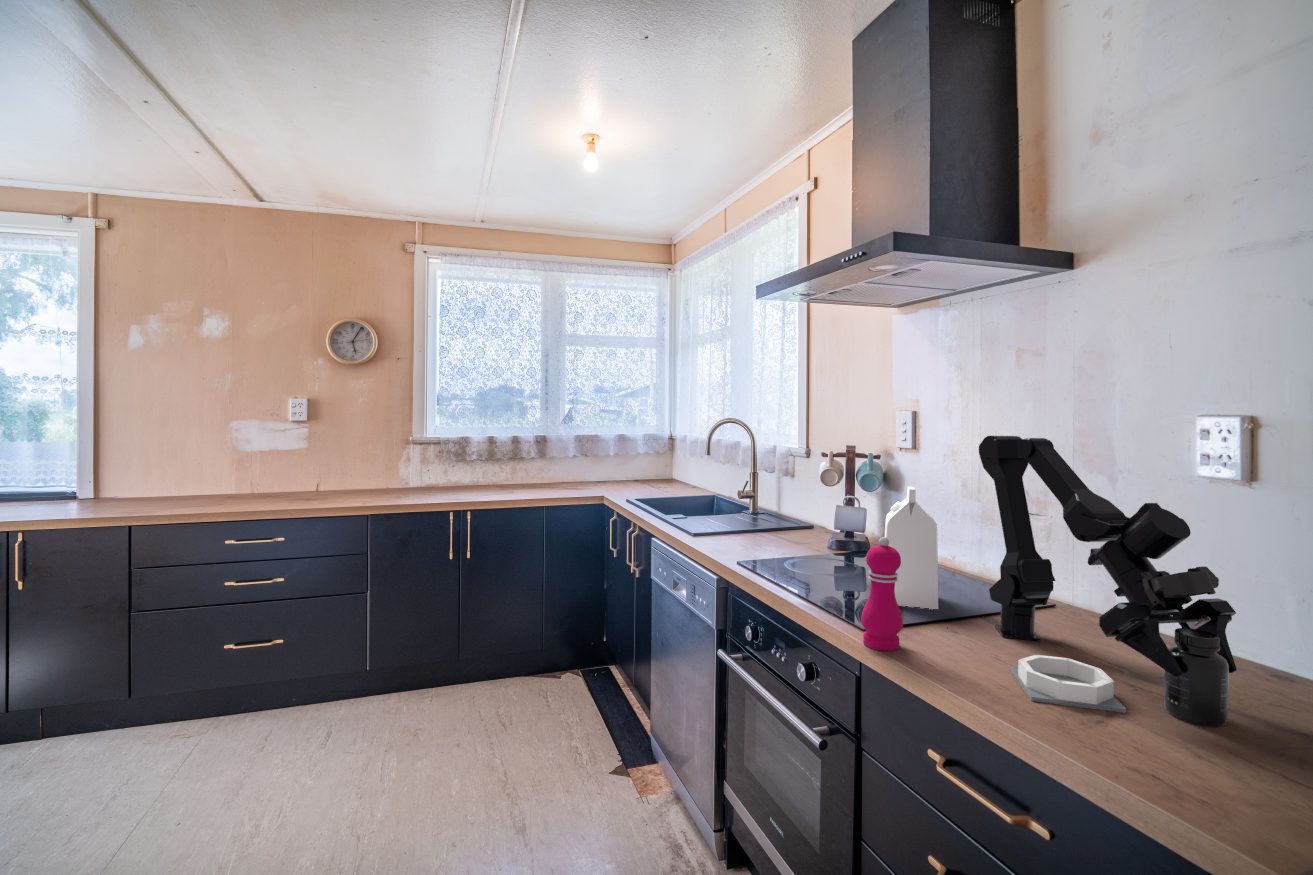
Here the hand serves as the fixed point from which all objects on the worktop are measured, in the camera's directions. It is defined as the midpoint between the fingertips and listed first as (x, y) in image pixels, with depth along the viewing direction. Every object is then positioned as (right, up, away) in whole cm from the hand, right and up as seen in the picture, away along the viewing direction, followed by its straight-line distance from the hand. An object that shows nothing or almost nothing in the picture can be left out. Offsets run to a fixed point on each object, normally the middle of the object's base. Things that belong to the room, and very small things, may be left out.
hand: (1206, 673), depth 86 cm
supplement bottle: (0, -7, +2) cm, 7 cm away
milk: (-18, -5, +57) cm, 60 cm away
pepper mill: (-35, -5, +28) cm, 45 cm away
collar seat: (-14, -6, +10) cm, 18 cm away
